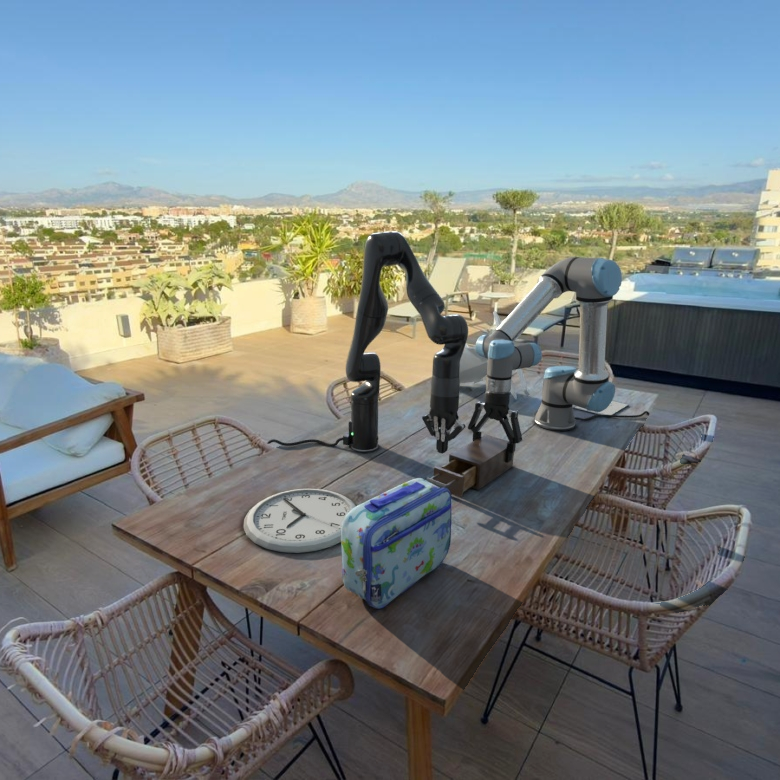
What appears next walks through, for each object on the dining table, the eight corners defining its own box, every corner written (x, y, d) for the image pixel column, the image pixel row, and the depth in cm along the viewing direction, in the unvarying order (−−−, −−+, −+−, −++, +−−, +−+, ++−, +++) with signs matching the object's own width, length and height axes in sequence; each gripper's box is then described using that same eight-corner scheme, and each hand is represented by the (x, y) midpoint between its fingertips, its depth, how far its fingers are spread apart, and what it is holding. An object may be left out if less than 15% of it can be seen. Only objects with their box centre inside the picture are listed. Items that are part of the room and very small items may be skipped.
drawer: (448, 505, 141) (449, 485, 140) (420, 494, 147) (421, 474, 145) (496, 473, 161) (497, 454, 159) (469, 464, 167) (470, 446, 165)
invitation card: (608, 416, 214) (573, 407, 224) (608, 416, 214) (573, 408, 224) (628, 404, 229) (594, 396, 238) (628, 405, 229) (594, 397, 238)
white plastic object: (461, 429, 252) (437, 405, 227) (444, 352, 274) (420, 323, 250) (535, 404, 240) (518, 377, 215) (510, 326, 262) (492, 293, 237)
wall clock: (362, 544, 122) (232, 548, 120) (362, 550, 123) (232, 555, 120) (359, 484, 151) (253, 486, 148) (359, 489, 151) (253, 492, 149)
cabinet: (478, 490, 152) (480, 464, 150) (447, 479, 159) (449, 454, 156) (512, 466, 168) (515, 442, 166) (483, 457, 175) (485, 434, 172)
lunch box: (370, 622, 101) (370, 527, 94) (335, 595, 108) (333, 505, 102) (455, 565, 118) (460, 481, 112) (420, 544, 125) (423, 465, 119)
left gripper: (416, 389, 138) (414, 449, 143) (458, 400, 130) (454, 463, 135) (432, 383, 144) (429, 441, 149) (474, 393, 136) (470, 454, 141)
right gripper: (459, 385, 165) (455, 449, 172) (527, 401, 151) (520, 470, 158) (471, 380, 171) (467, 443, 177) (538, 395, 157) (531, 462, 163)
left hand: (441, 452), depth 142 cm, fingers closed
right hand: (492, 456), depth 167 cm, fingers closed on cabinet, 11 cm apart
